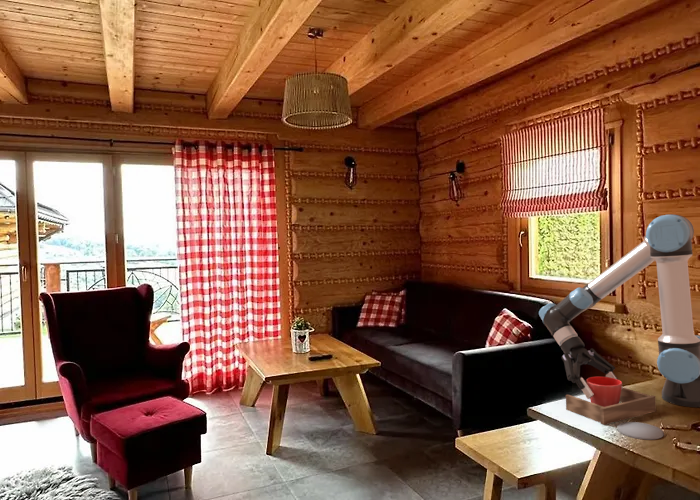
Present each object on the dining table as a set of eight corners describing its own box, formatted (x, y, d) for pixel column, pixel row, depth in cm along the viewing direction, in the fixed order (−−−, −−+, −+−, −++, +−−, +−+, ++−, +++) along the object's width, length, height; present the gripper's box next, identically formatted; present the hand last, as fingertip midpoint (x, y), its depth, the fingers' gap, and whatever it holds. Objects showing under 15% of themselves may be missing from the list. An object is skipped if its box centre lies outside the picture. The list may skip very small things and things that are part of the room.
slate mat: (651, 423, 156) (651, 421, 156) (671, 439, 144) (671, 437, 144) (611, 423, 157) (610, 422, 157) (627, 439, 145) (626, 437, 145)
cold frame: (564, 409, 171) (564, 395, 171) (614, 398, 180) (614, 384, 180) (604, 424, 157) (603, 409, 157) (655, 411, 166) (655, 396, 166)
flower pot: (627, 415, 164) (626, 385, 164) (591, 414, 166) (590, 385, 166) (617, 404, 174) (616, 376, 174) (583, 403, 177) (582, 376, 176)
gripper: (588, 343, 190) (625, 392, 177) (537, 351, 181) (572, 405, 167) (600, 331, 185) (638, 381, 172) (548, 339, 176) (584, 393, 162)
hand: (605, 393), depth 169 cm, fingers open, 13 cm apart
